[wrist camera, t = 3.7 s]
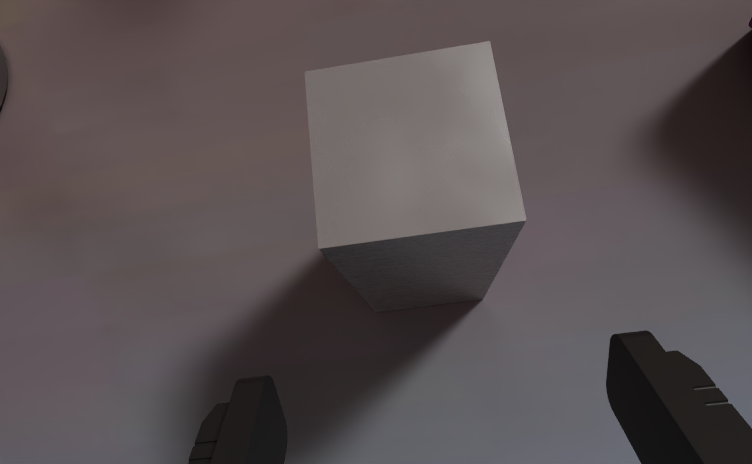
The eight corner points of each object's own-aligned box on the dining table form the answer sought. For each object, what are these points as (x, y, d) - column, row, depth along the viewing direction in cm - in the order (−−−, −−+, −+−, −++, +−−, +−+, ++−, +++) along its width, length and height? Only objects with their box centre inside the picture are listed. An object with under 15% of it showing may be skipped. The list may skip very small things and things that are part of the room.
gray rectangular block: (483, 299, 21) (526, 220, 11) (376, 312, 22) (318, 248, 11) (466, 198, 23) (489, 41, 12) (365, 212, 23) (304, 71, 12)
